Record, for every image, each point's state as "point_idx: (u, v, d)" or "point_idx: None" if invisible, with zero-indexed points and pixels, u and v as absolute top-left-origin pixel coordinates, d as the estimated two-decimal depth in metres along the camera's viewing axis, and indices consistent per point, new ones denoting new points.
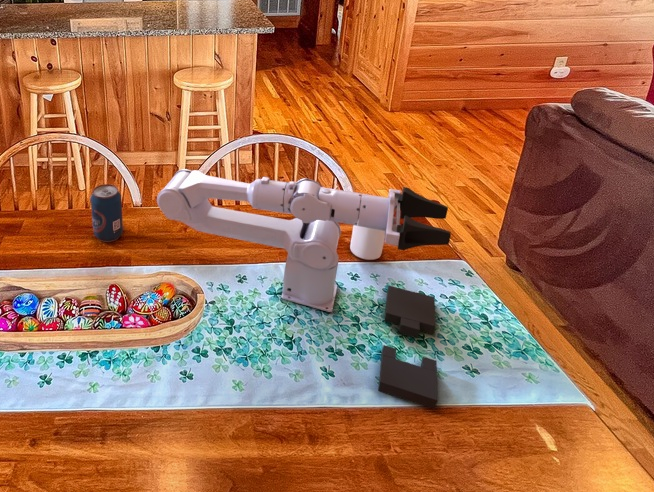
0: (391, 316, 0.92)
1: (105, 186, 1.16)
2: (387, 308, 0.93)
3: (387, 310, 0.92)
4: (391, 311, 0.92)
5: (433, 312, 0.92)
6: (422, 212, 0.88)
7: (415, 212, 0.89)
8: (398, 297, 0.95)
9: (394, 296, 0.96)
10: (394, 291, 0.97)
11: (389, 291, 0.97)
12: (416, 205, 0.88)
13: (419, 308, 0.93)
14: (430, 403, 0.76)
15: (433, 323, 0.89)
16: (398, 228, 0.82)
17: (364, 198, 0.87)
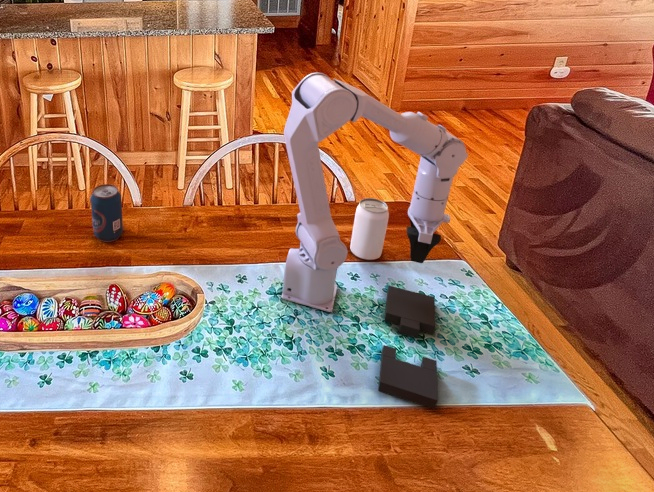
0: (391, 316, 0.92)
1: (105, 186, 1.16)
2: (387, 308, 0.93)
3: (387, 310, 0.92)
4: (391, 311, 0.92)
5: (433, 312, 0.92)
6: None
7: None
8: (398, 297, 0.95)
9: (394, 296, 0.96)
10: (394, 291, 0.97)
11: (389, 291, 0.97)
12: None
13: (419, 308, 0.93)
14: (430, 403, 0.76)
15: (433, 323, 0.89)
16: None
17: (447, 199, 0.92)
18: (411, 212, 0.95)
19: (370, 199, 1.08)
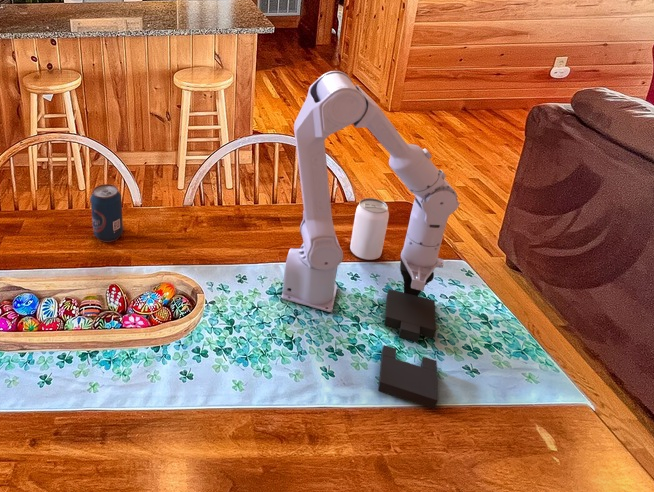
0: (391, 320, 0.91)
1: (105, 186, 1.16)
2: (387, 312, 0.92)
3: (387, 314, 0.91)
4: (391, 315, 0.91)
5: (433, 316, 0.91)
6: None
7: None
8: (398, 300, 0.95)
9: (394, 299, 0.95)
10: (393, 295, 0.96)
11: (389, 294, 0.96)
12: None
13: (420, 311, 0.92)
14: (430, 403, 0.76)
15: (433, 327, 0.88)
16: None
17: (440, 244, 0.90)
18: (404, 256, 0.93)
19: (370, 199, 1.08)
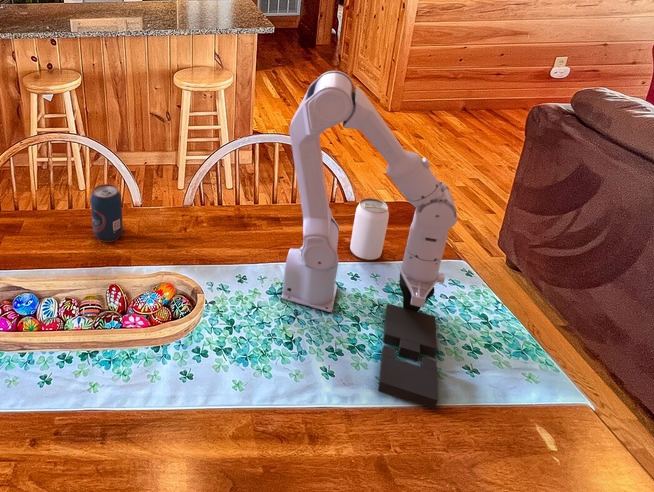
0: (390, 337, 0.87)
1: (105, 186, 1.16)
2: (386, 329, 0.88)
3: (385, 331, 0.88)
4: (390, 332, 0.88)
5: (434, 333, 0.87)
6: None
7: None
8: (397, 316, 0.91)
9: (393, 315, 0.91)
10: (392, 310, 0.92)
11: (388, 310, 0.92)
12: None
13: (420, 328, 0.88)
14: (430, 403, 0.76)
15: (434, 345, 0.85)
16: None
17: (441, 258, 0.87)
18: (403, 270, 0.90)
19: (370, 199, 1.08)
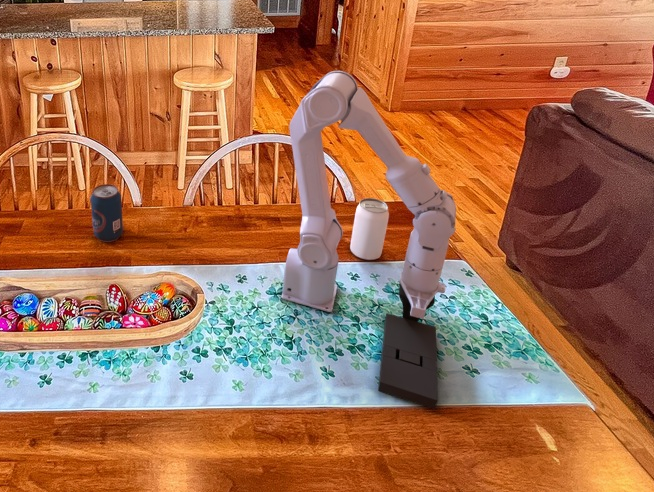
0: None
1: (105, 186, 1.16)
2: (385, 339, 0.86)
3: (384, 342, 0.86)
4: (389, 343, 0.85)
5: (434, 344, 0.85)
6: None
7: (408, 299, 0.90)
8: (397, 326, 0.89)
9: (392, 325, 0.89)
10: (392, 320, 0.90)
11: (387, 320, 0.90)
12: None
13: (420, 339, 0.86)
14: (430, 403, 0.76)
15: (434, 357, 0.83)
16: None
17: None
18: (403, 280, 0.87)
19: (370, 199, 1.08)
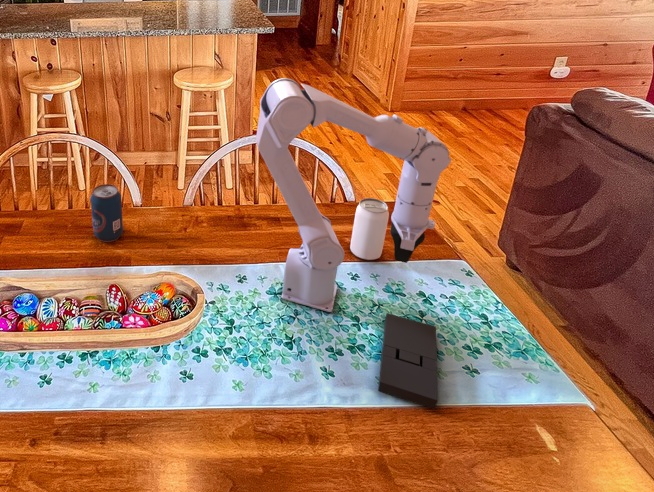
0: None
1: (105, 186, 1.16)
2: (385, 339, 0.86)
3: (384, 342, 0.86)
4: (389, 343, 0.86)
5: (434, 344, 0.85)
6: None
7: None
8: (397, 326, 0.89)
9: (393, 325, 0.89)
10: (392, 320, 0.90)
11: (387, 319, 0.90)
12: None
13: (420, 339, 0.86)
14: (430, 403, 0.76)
15: (434, 357, 0.83)
16: None
17: (431, 204, 0.88)
18: (394, 217, 0.91)
19: (370, 199, 1.08)
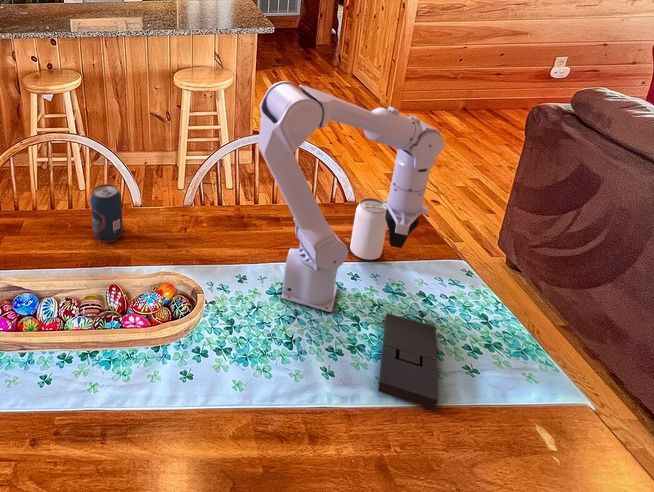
0: None
1: (105, 186, 1.16)
2: (385, 339, 0.86)
3: (384, 342, 0.86)
4: (389, 343, 0.86)
5: (434, 344, 0.85)
6: None
7: None
8: (397, 326, 0.89)
9: (393, 325, 0.89)
10: (392, 320, 0.90)
11: (387, 319, 0.90)
12: None
13: (420, 339, 0.86)
14: (430, 403, 0.76)
15: (434, 357, 0.83)
16: None
17: None
18: (389, 204, 0.94)
19: (370, 199, 1.08)
